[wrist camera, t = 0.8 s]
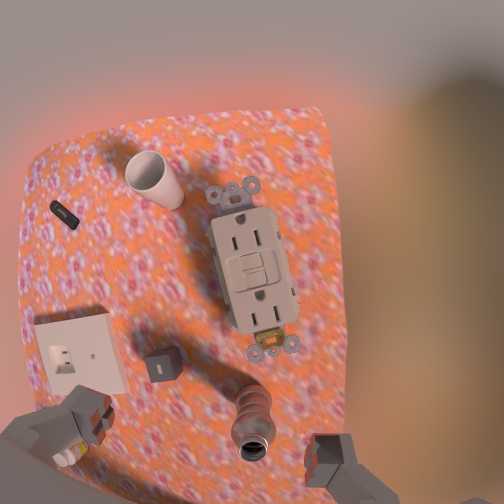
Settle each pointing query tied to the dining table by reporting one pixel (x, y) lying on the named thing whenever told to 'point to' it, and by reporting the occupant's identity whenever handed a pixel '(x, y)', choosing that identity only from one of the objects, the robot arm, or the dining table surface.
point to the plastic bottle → (253, 423)
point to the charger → (164, 365)
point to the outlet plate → (82, 355)
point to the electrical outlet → (253, 269)
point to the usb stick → (64, 215)
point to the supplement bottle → (71, 454)
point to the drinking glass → (154, 179)
